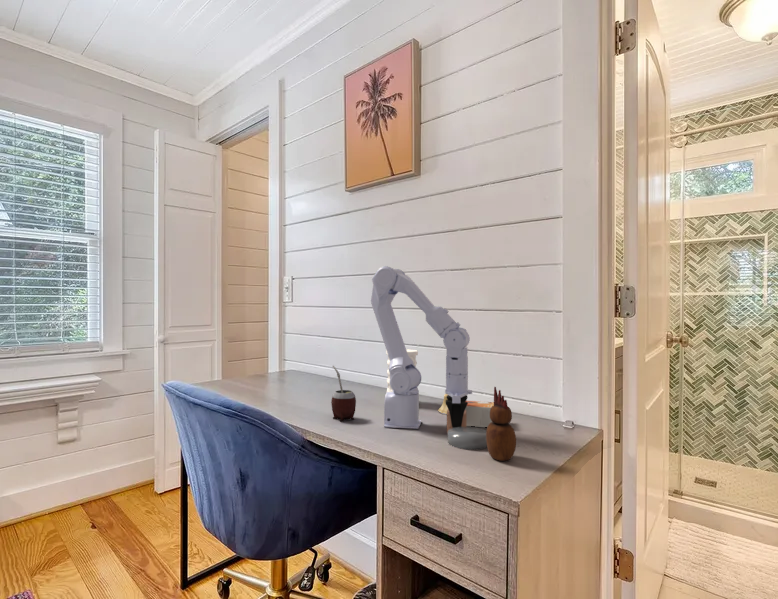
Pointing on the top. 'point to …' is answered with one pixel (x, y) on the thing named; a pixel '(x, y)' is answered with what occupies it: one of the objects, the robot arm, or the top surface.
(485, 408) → the small box
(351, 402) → the mate gourd
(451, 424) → the block
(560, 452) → the top surface
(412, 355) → the decorative container
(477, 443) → the pedestal
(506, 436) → the wooden figurine
